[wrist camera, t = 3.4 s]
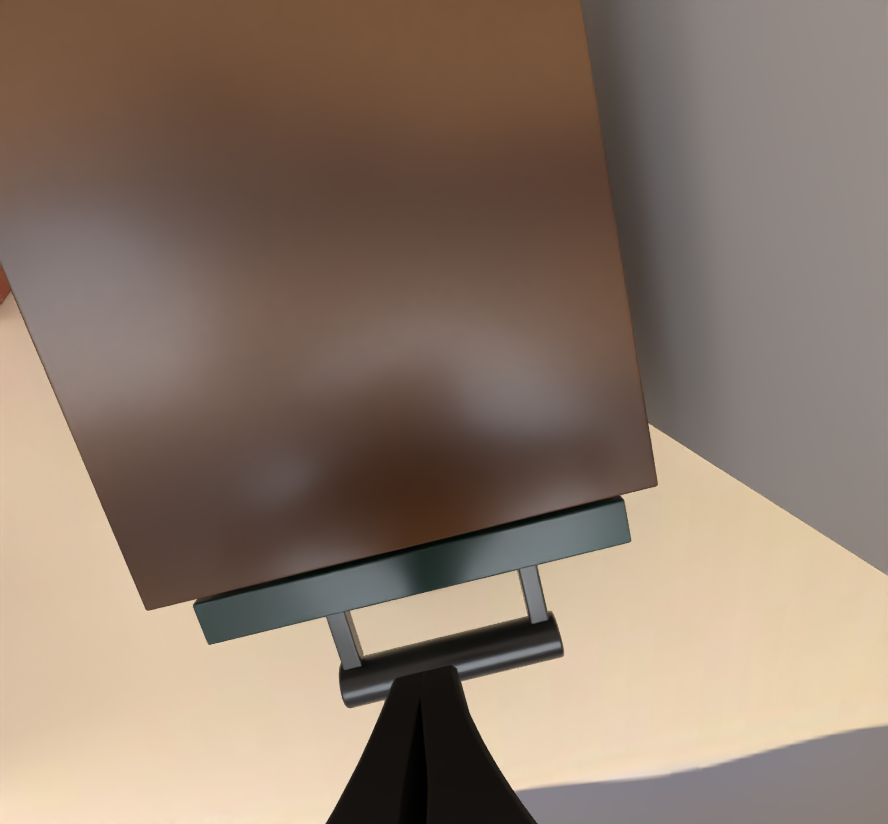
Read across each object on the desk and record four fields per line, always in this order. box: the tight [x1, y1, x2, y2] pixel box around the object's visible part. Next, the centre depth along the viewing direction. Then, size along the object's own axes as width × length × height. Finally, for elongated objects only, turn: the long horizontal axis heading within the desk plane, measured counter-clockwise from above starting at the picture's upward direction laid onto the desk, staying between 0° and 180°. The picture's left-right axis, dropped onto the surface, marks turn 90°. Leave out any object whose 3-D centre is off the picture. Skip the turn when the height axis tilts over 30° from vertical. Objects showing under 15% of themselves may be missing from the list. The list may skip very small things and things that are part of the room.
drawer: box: [193, 495, 631, 708], centre depth 16 cm, size 19×11×7 cm, turn 14°
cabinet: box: [0, 0, 658, 611], centre depth 15 cm, size 15×12×8 cm
